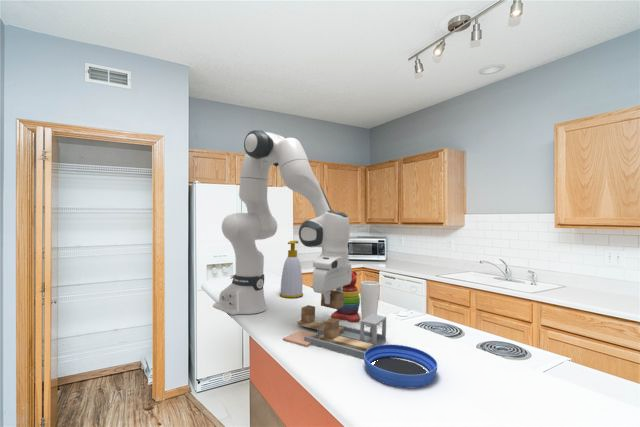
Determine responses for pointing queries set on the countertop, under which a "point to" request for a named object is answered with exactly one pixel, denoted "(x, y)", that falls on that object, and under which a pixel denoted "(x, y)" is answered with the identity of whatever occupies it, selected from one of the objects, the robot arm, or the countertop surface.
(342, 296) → the walnut block
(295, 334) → the coaster
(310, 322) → the strip far
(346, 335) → the lane board
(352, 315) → the stacking bear
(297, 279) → the soap bottle
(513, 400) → the countertop surface
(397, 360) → the blue round shallow tray
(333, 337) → the strip near
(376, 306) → the drinking glass
